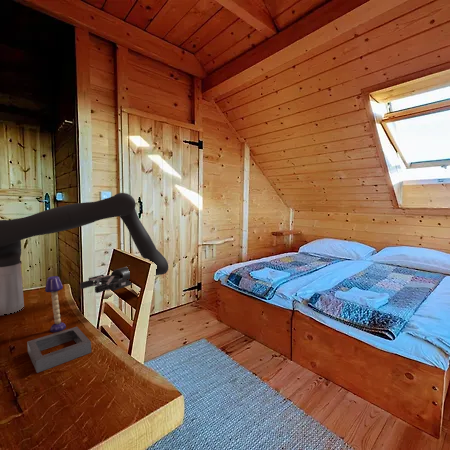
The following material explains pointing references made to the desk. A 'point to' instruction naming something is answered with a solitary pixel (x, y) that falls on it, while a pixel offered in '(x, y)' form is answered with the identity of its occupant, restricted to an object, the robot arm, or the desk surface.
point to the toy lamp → (55, 302)
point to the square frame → (60, 355)
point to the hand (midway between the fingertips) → (88, 288)
